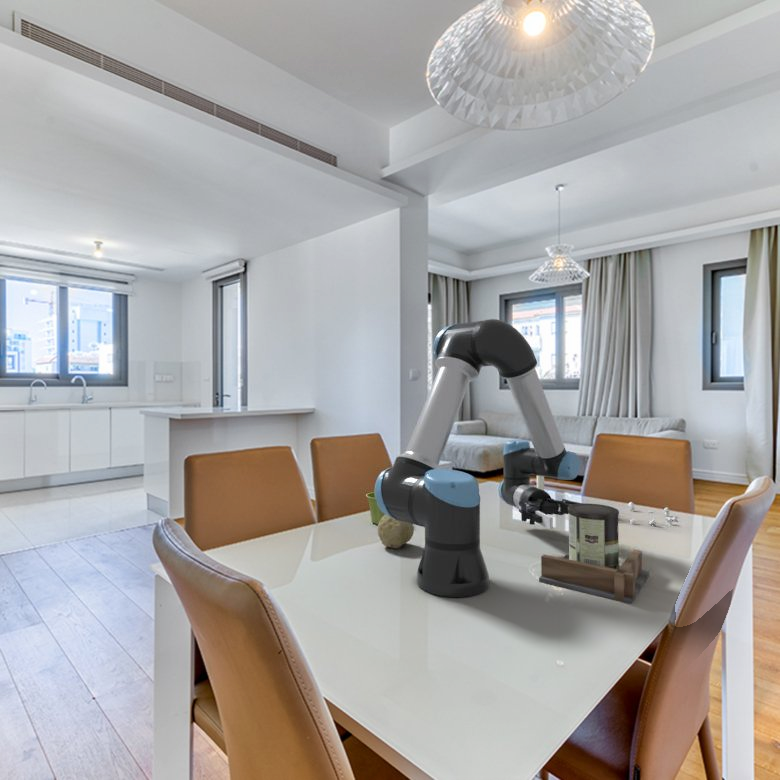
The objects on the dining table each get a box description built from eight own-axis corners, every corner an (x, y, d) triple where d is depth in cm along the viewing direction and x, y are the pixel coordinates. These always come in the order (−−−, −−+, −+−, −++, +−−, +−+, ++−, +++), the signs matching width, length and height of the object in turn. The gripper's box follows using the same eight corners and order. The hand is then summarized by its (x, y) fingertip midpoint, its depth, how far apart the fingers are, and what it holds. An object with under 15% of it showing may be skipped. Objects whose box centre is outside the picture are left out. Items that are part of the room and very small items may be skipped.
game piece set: (607, 509, 166) (607, 497, 166) (674, 514, 157) (674, 503, 157) (606, 523, 148) (606, 511, 148) (682, 531, 139) (682, 517, 139)
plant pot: (396, 526, 146) (396, 497, 146) (365, 526, 146) (365, 498, 146) (396, 518, 155) (396, 491, 155) (367, 518, 155) (367, 491, 155)
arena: (631, 603, 92) (631, 577, 92) (539, 581, 103) (538, 558, 103) (649, 574, 106) (648, 551, 106) (566, 557, 117) (566, 537, 117)
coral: (423, 516, 131) (406, 508, 123) (413, 554, 128) (396, 549, 120) (393, 509, 136) (376, 501, 128) (383, 545, 133) (365, 540, 125)
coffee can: (606, 564, 110) (606, 502, 110) (628, 582, 100) (627, 514, 100) (561, 564, 111) (561, 503, 111) (578, 582, 100) (578, 514, 100)
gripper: (574, 511, 135) (625, 534, 114) (490, 517, 130) (528, 541, 109) (573, 485, 135) (625, 502, 114) (490, 489, 130) (528, 508, 109)
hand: (578, 521), depth 111 cm, fingers open, 13 cm apart
